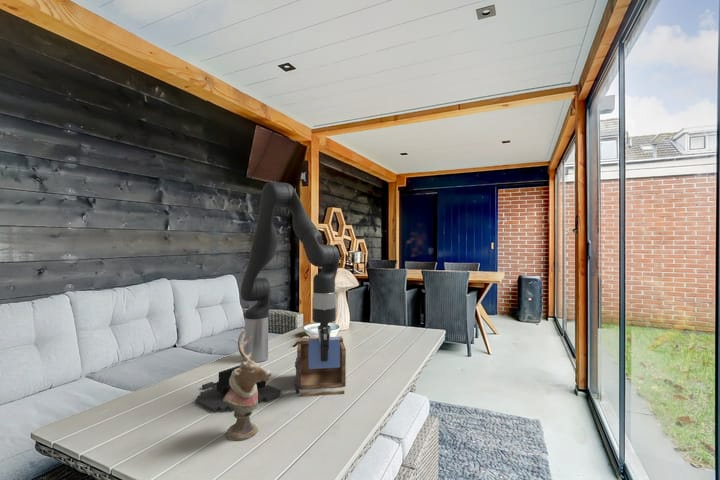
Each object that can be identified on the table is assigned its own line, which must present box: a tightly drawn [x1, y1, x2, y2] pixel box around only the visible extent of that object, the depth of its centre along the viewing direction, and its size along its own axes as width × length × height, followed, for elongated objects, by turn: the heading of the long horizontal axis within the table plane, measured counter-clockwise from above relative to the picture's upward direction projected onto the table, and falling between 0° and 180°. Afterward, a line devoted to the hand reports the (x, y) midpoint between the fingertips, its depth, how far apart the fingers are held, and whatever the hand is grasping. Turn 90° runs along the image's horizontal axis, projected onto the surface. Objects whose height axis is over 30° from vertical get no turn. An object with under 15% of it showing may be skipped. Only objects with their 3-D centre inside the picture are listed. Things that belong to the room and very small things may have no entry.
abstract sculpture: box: [194, 365, 282, 414], centre depth 111 cm, size 25×9×20 cm
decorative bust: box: [223, 330, 272, 441], centre depth 90 cm, size 11×13×25 cm
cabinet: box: [294, 335, 347, 397], centre depth 120 cm, size 17×18×14 cm
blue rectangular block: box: [309, 338, 340, 369], centre depth 114 cm, size 10×2×9 cm, turn 99°
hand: (324, 359), depth 114 cm, fingers closed on blue rectangular block, 2 cm apart
